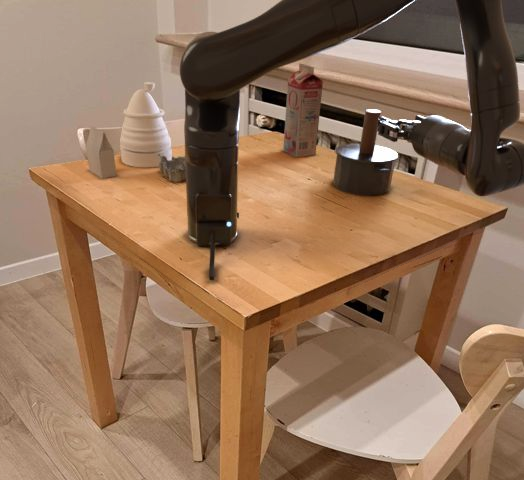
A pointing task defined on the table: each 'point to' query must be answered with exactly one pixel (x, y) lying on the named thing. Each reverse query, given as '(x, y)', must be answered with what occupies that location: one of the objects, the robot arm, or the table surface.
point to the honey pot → (144, 131)
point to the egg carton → (173, 168)
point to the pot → (362, 177)
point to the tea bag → (100, 154)
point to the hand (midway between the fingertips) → (398, 121)
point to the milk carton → (302, 112)
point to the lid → (368, 144)
